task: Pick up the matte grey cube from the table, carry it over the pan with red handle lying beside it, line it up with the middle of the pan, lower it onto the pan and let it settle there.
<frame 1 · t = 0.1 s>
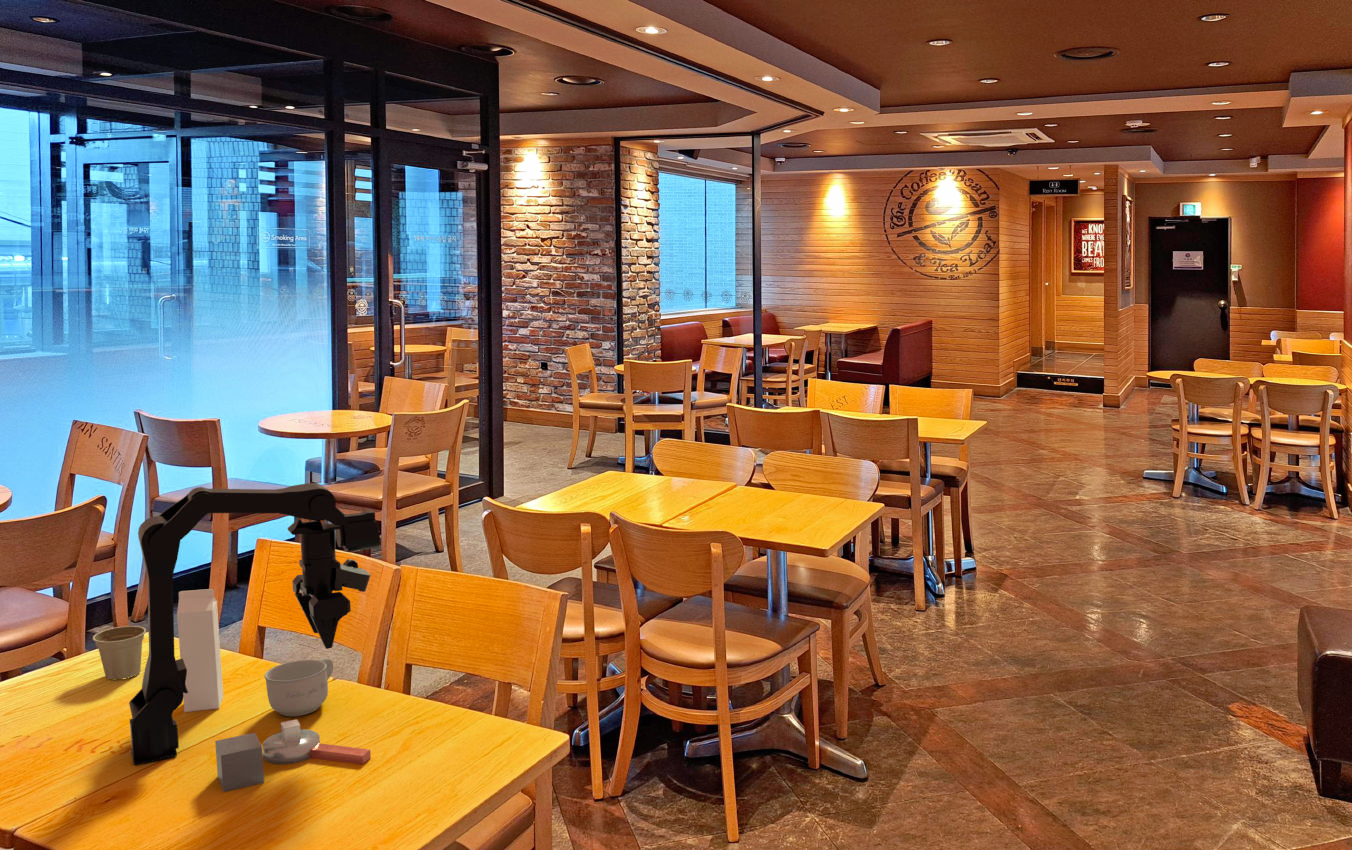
hand: (322, 640, 191), 15 cm above the table, tool pointing down, fingers open, 9 cm apart
pan with red handle: (292, 751, 180), on the table
teacup: (305, 708, 198), on the table
matte grey cube: (240, 779, 170), on the table
milk: (204, 705, 199), on the table
flower pot: (122, 675, 214), on the table
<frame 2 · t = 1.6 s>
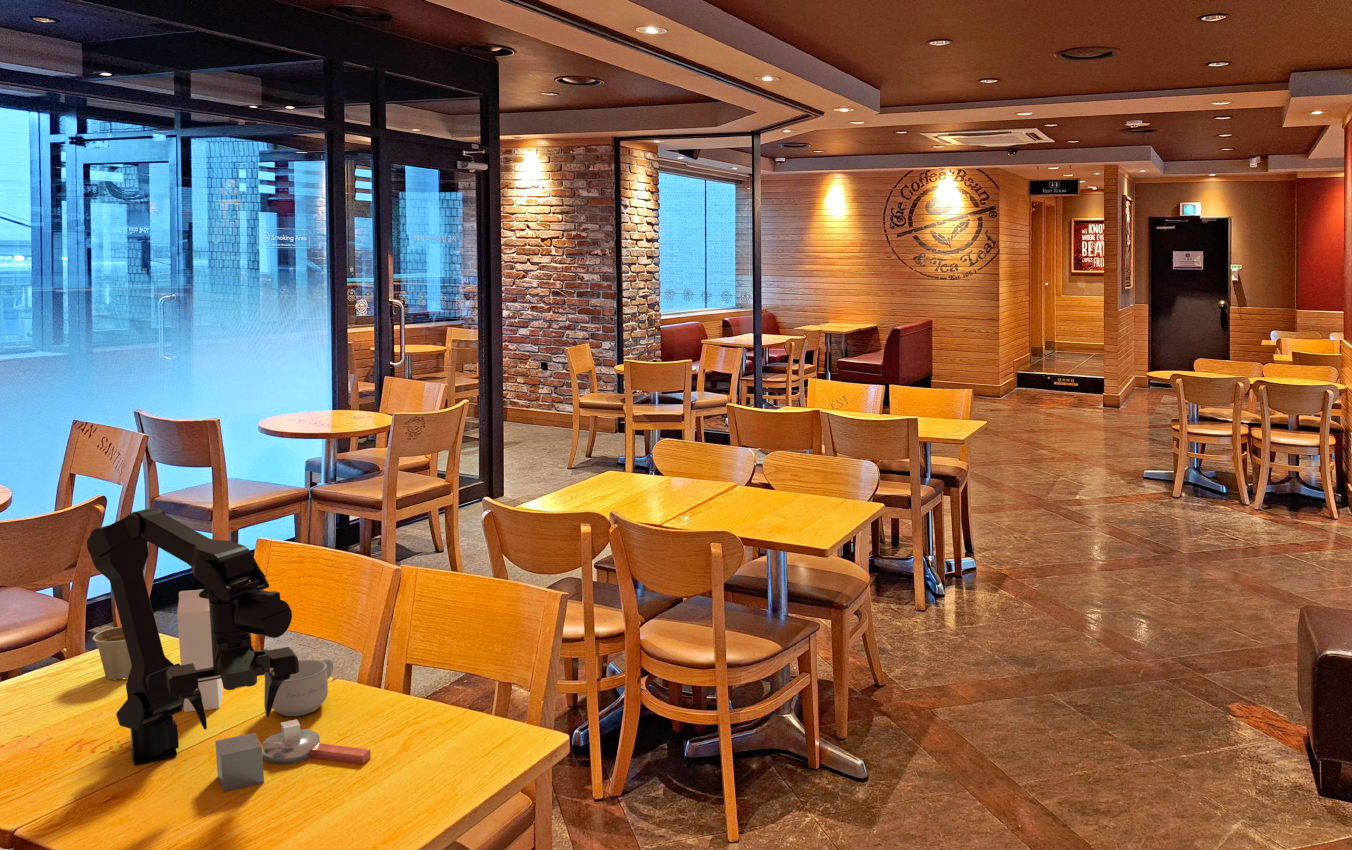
hand: (236, 722, 169), 10 cm above the table, tool pointing down, fingers open, 9 cm apart
nothing on the table moved.
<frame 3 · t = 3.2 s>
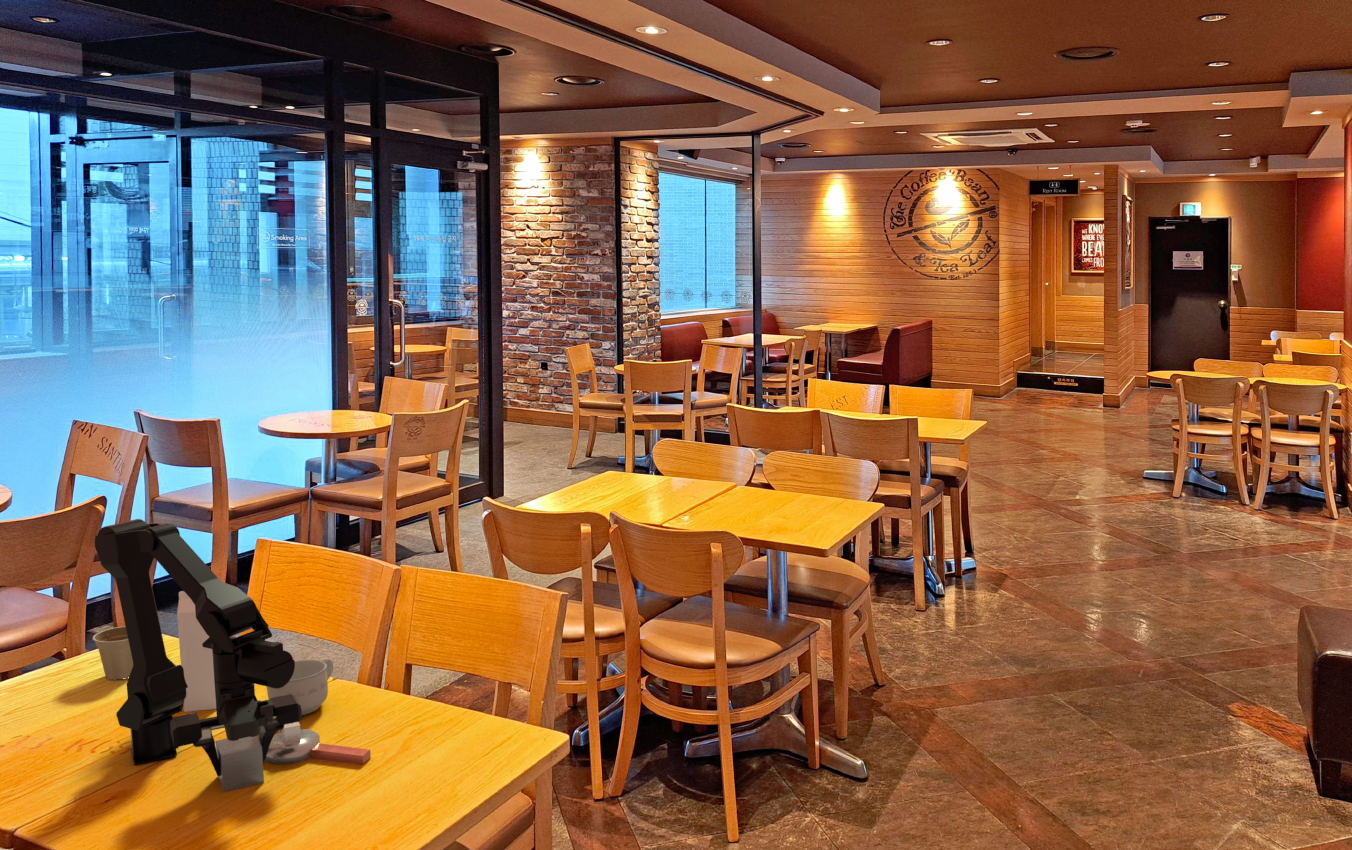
hand: (240, 770, 170), 2 cm above the table, tool pointing down, fingers closed on matte grey cube, 6 cm apart
matte grey cube: (240, 779, 170), on the table, touching gripper
everything else where it was.
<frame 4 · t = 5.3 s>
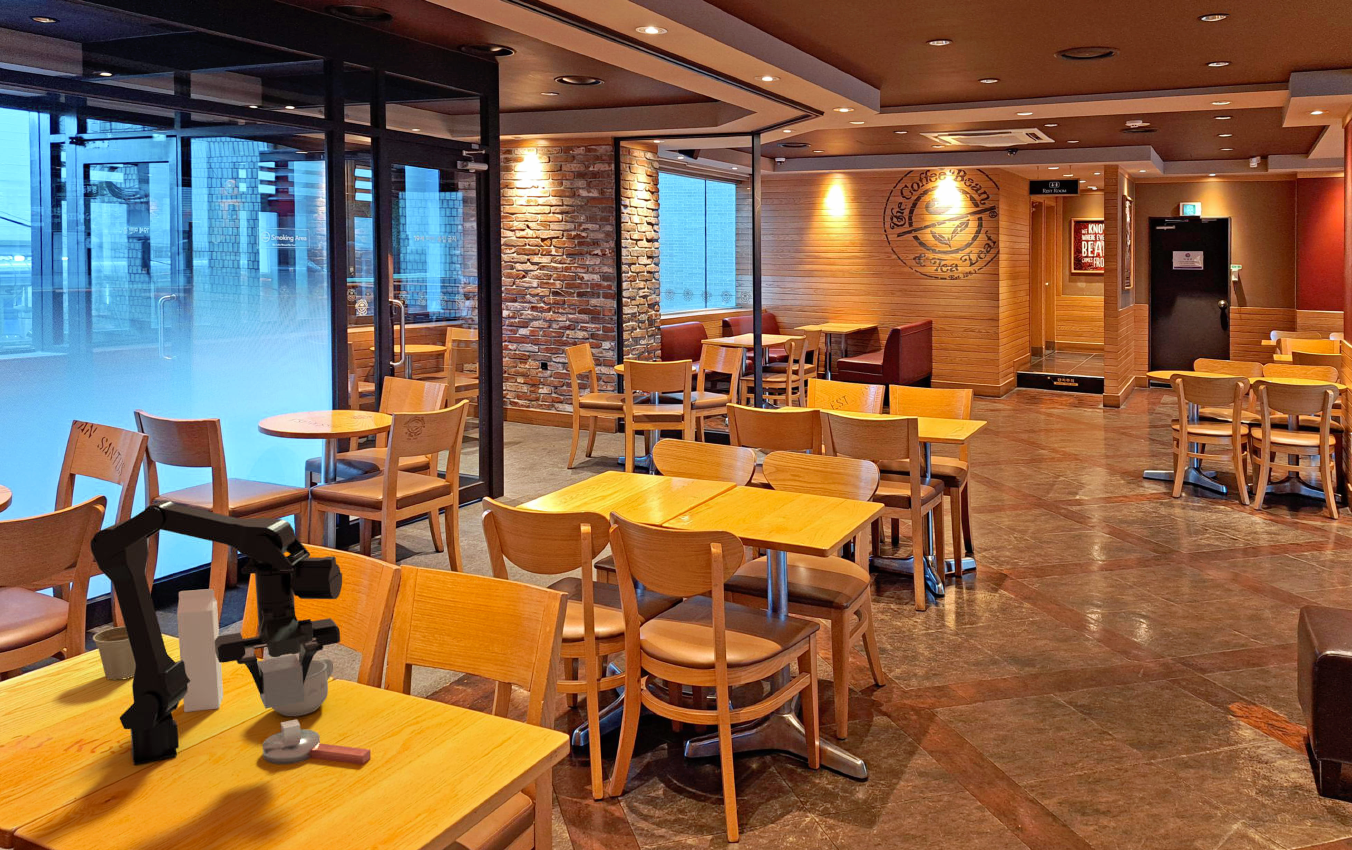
hand: (281, 689, 176), 12 cm above the table, tool pointing down, fingers closed on matte grey cube, 6 cm apart
matte grey cube: (281, 698, 177), point 10 cm above the table, touching gripper
everything else where it was.
when the fingers open (4 cm above the table, at t = 7.4 s): matte grey cube stays where it is, resting on pan with red handle.
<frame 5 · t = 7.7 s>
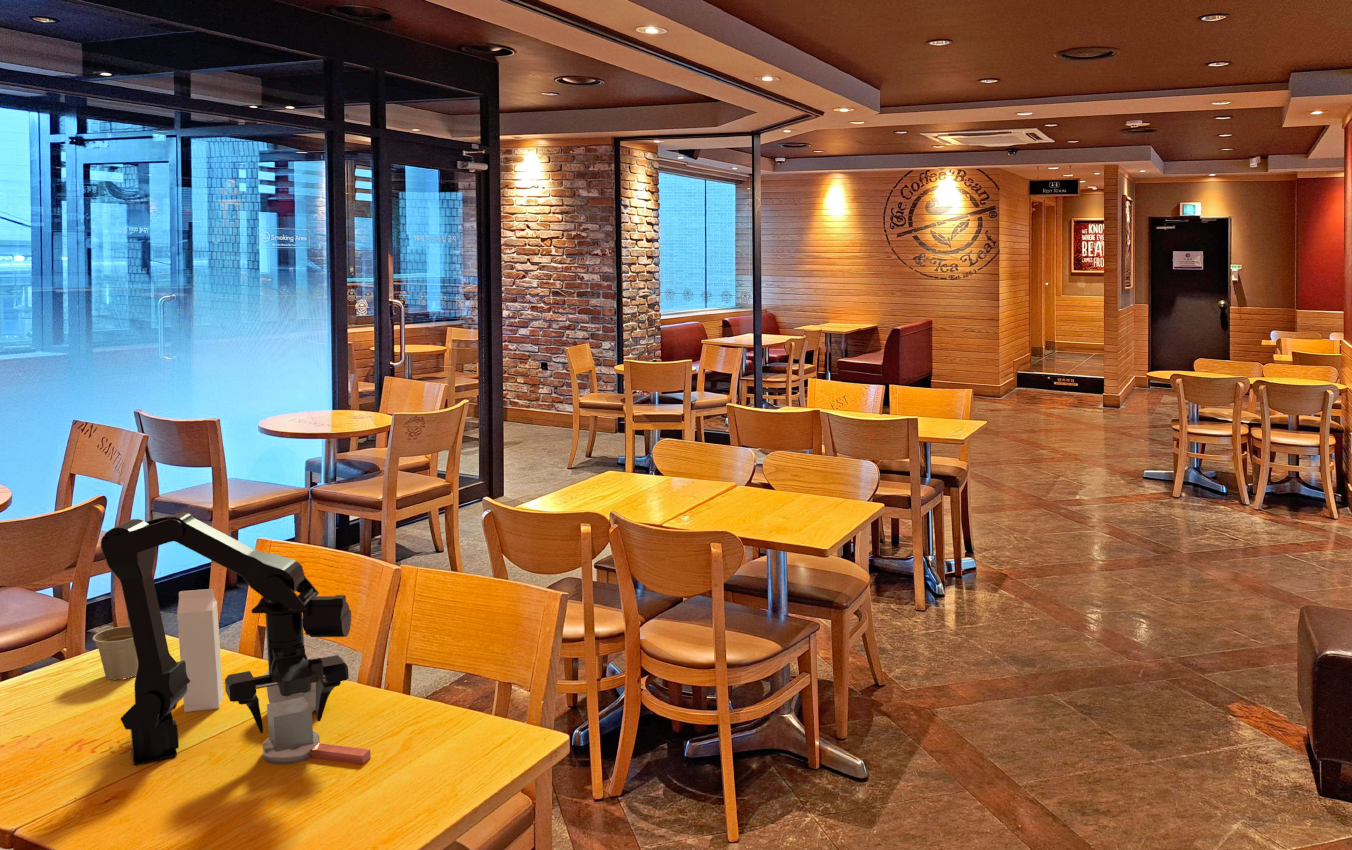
hand: (290, 726, 179), 4 cm above the table, tool pointing down, fingers open, 9 cm apart
pan with red handle: (292, 751, 180), on the table, touching matte grey cube
matte grey cube: (291, 740, 179), point 2 cm above the table, touching pan with red handle
everything else where it was.
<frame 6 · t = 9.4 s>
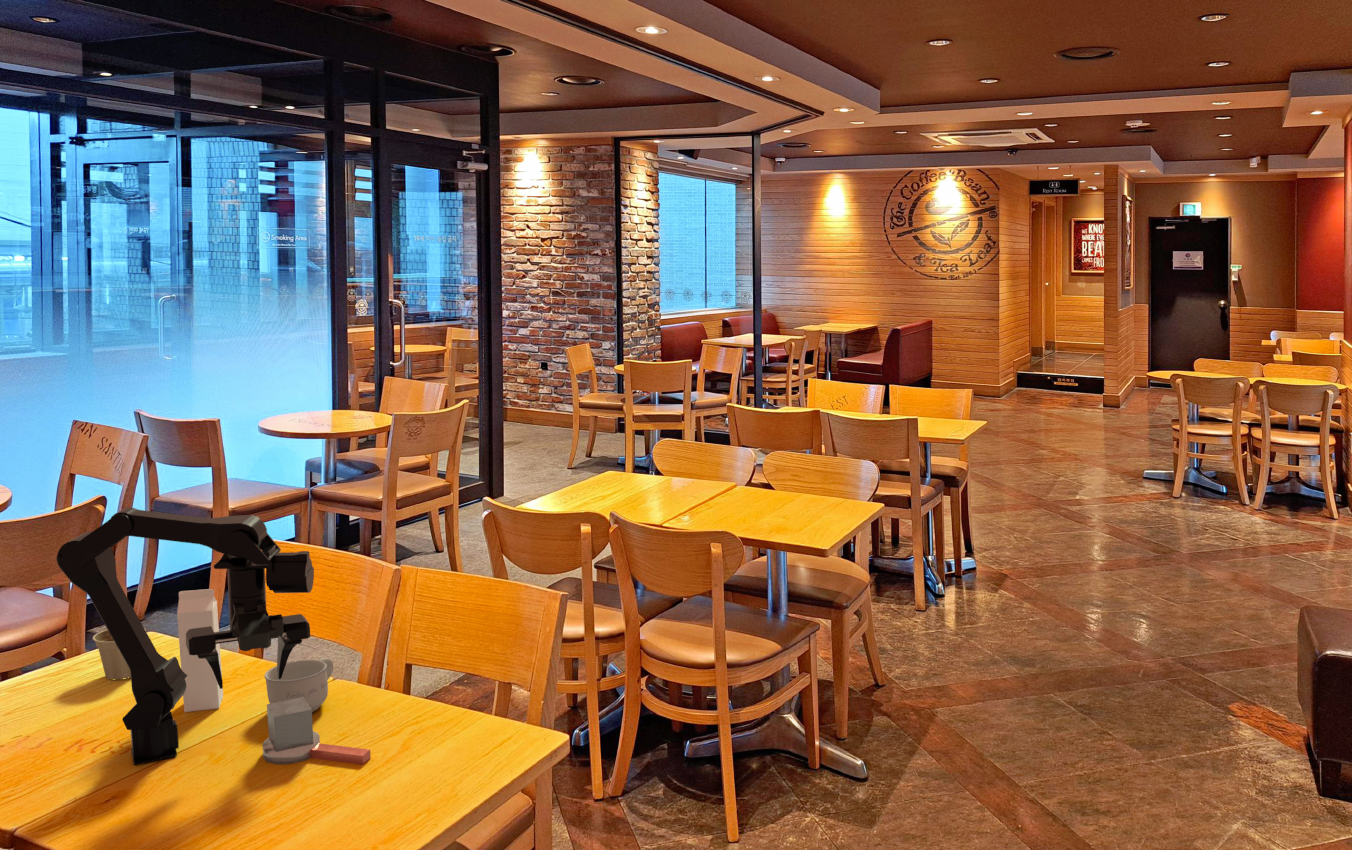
hand: (250, 683, 179), 12 cm above the table, tool pointing down, fingers open, 9 cm apart
nothing on the table moved.
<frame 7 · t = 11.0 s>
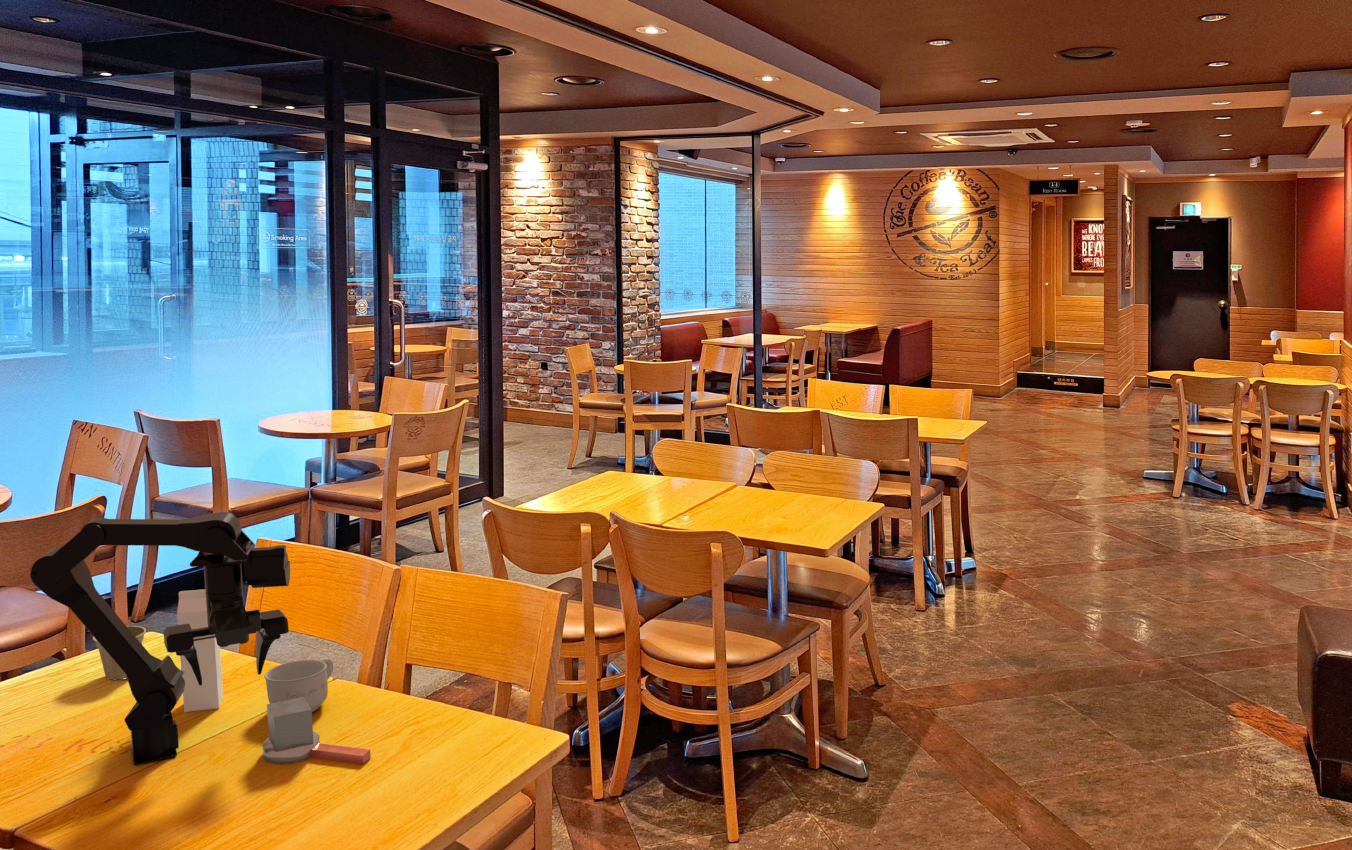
hand: (230, 679, 180), 12 cm above the table, tool pointing down, fingers open, 9 cm apart
nothing on the table moved.
at the end: matte grey cube 0.1 cm off-centre on the pan with red handle, point 2.0 cm above the pan with red handle's base; matte grey cube tilted 0°; the gripper is holding nothing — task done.
